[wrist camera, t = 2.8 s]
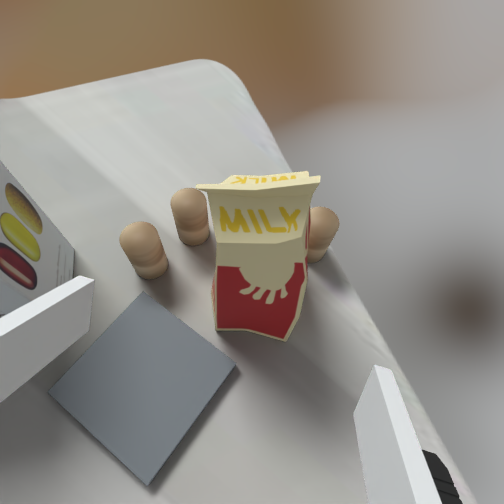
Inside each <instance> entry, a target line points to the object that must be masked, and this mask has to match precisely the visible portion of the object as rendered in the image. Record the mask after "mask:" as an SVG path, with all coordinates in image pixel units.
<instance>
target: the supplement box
mask: <svg viewBox="0 0 504 504" xmlns="http://www.w3.org/2000/svg"><path fill="white" fill-rule="evenodd" d="M73 262H74V248H73V247H72V245H71V244H70V243H69V242H68V241H67V239H66V238H65V237H64V236H63V235H62V233H61V232H60V231H59V230H58V229H57V227H56V226H55V225H54V224H53V223H52V221H51V220H50V219H49V218H48V217H47V216H46V214H45V213H44V212H43V211H42V210H41V208H40V207H39V206H38V205H37V204H36V202H35V201H34V200H33V199H32V198H31V196H30V195H29V194H28V193H27V192H26V191H25V189H24V188H23V187H22V186H21V185H20V183H19V182H18V181H17V180H16V179H15V177H14V176H13V175H12V174H11V173H10V172H9V170H8V169H7V168H6V167H5V166H4V164H3V163H2V162H1V161H0V316H1V317H3V316H5V315H7V314H9V313H11V312H13V311H14V310H16V309H18V308H20V307H22V306H24V305H25V304H27V303H29V302H31V301H33V300H35V299H37V298H38V297H40V296H42V295H44V294H46V293H48V292H49V291H51V290H53V289H55V288H57V287H59V286H61V285H62V284H64V283H66V282H68V281H70V280H72V278H73Z"/></svg>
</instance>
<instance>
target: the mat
mask: <svg viewBox="0 0 504 504" xmlns="http://www.w3.org/2000/svg"><path fill="white" fill-rule="evenodd" d="M235 366H236V363H235V362H234V361H233V360H232V359H230V358H229V357H228V356H226V355H225V354H224V353H222V352H221V351H220V350H219V349H217V348H216V347H215V346H213V345H212V344H211V343H210V342H208V341H207V340H206V339H204V338H203V337H202V336H201V335H199V334H198V333H197V332H195V331H194V330H193V329H191V328H190V327H189V326H188V325H186V324H185V323H184V322H182V321H181V320H180V319H179V318H177V317H176V316H175V315H173V314H172V313H171V312H169V311H168V310H167V309H166V308H164V307H163V306H162V305H160V304H159V303H158V302H157V301H155V300H154V299H153V298H151V297H150V296H149V295H147V294H146V293H145V292H144V291H143V292H142V293H141V294H140V295H139V296H138V297H137V298H136V299H135V300H134V301H133V302H132V303H131V304H130V305H129V307H128V308H127V309H126V310H125V311H124V312H123V313H122V314H121V315H120V316H119V317H118V318H117V319H116V320H115V321H114V322H113V323H112V324H111V325H110V327H109V328H108V329H107V330H106V331H105V332H104V333H103V334H102V335H101V336H100V337H99V338H98V339H97V340H96V341H95V342H94V343H93V344H92V345H91V347H90V348H89V349H88V350H87V351H86V352H85V353H84V354H83V355H82V356H81V357H80V358H79V359H78V360H77V361H76V362H75V363H74V364H73V366H72V367H71V368H70V369H69V370H68V371H67V372H66V373H65V374H64V375H63V376H62V377H61V378H60V379H59V380H58V381H57V382H56V383H55V384H54V386H53V387H52V388H51V389H50V390H49V391H48V393H49V394H50V395H51V396H52V397H53V398H54V399H55V400H56V401H57V402H58V403H59V404H60V405H61V406H63V407H64V408H65V409H66V410H67V411H68V412H69V413H70V414H71V415H72V416H73V417H74V418H75V419H76V420H77V421H78V422H80V423H81V424H82V425H83V426H84V427H85V428H86V429H87V430H88V431H89V432H90V433H91V434H92V435H93V436H94V437H95V438H97V439H98V440H99V441H100V442H101V443H102V444H103V445H104V446H105V447H106V448H107V449H108V450H109V451H110V452H111V453H112V454H114V455H115V456H116V457H117V458H118V459H119V460H120V461H121V462H122V463H123V464H124V465H125V466H126V467H127V468H128V469H129V470H131V471H132V472H133V473H134V474H135V475H136V476H137V477H138V478H139V479H140V480H141V481H142V482H143V483H144V484H145V485H146V486H148V485H149V484H150V483H151V482H152V480H153V479H154V478H155V476H156V475H157V473H158V472H159V471H160V469H161V468H162V467H163V465H164V464H165V462H166V461H167V460H168V458H169V457H170V455H171V454H172V453H173V451H174V450H175V449H176V447H177V446H178V444H179V443H180V442H181V440H182V439H183V438H184V436H185V435H186V433H187V432H188V431H189V429H190V428H191V426H192V425H193V424H194V422H195V421H196V420H197V418H198V417H199V415H200V414H201V413H202V411H203V410H204V409H205V407H206V406H207V404H208V403H209V402H210V400H211V399H212V398H213V396H214V395H215V393H216V392H217V391H218V389H219V388H220V386H221V385H222V384H223V382H224V381H225V380H226V378H227V377H228V375H229V374H230V373H231V371H232V370H233V369H234V367H235Z"/></svg>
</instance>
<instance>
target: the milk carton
mask: <svg viewBox="0 0 504 504" xmlns="http://www.w3.org/2000/svg"><path fill="white" fill-rule="evenodd" d="M319 183H320V176H313V177H309V173H308V171H304V172H293V173H284V174H274V175H264V176H247V175H231V176H230V177H229V178H227V179H226V180H225V181H223V182H222V183H220V184H196V189H199V190H202V191H205V192H207V194H208V199H209V205H210V210H211V215H212V220H213V226H214V231H215V236H216V241H217V248H216V268H215V274H214V280H213V285H212V290H211V297H212V305H213V313H214V321H215V329H216V331H249V332H252V333H256V334H259V335H263V336H266V337H270V338H273V339H277V340H280V341H284V342H287V340H288V338H289V336H290V334H291V332H292V330H293V328H294V327H295V325H296V323H297V321H298V319H299V317H300V313H301V308H302V303H303V299H304V294H305V290H306V285H307V280H308V273H307V251H308V242H309V233H310V224H311V211H310V202H311V198H312V195H313V193H314V191H315V190H316V188H317V187H318V185H319Z"/></svg>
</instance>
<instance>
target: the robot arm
mask: <svg viewBox="0 0 504 504" xmlns="http://www.w3.org/2000/svg"><path fill="white" fill-rule="evenodd" d="M94 281H95V280H93V279H90V278H87V277H83V276H80V275H79V276H77V277H75V278H74V279H72V280H70V281H68V282H66V283H64V284H62V285H61V286H59V287H57V288H55V289H53V290H51V291H49V292H48V293H46V294H44V295H42V296H40V297H38V298H37V299H35V300H33V301H31V302H29V303H27V304H25V305H24V306H22V307H20V308H18V309H16V310H14V311H13V312H11V313H9V314H7V315H5V316H3V317H1V316H0V403H1V402H2V401H3V400H5V399H6V398H7V397H8V396H10V395H11V394H12V393H13V392H14V391H16V390H17V389H18V388H19V387H21V386H22V385H23V384H24V383H25V382H27V381H28V380H29V379H30V378H32V377H33V376H34V375H35V374H37V373H38V372H39V371H40V370H41V369H43V368H44V367H45V366H46V365H48V364H49V363H50V362H51V361H52V360H54V359H55V358H56V357H57V356H59V355H60V354H61V353H62V352H63V351H65V350H66V349H67V348H68V347H70V346H71V345H72V344H73V343H75V342H76V341H77V340H78V339H79V338H81V337H82V336H83V335H84V334H86V333H87V332H88V331H89V327H90V318H91V308H92V299H93V290H94ZM353 415H354V421H355V427H356V433H357V439H358V445H359V451H360V457H361V463H362V469H363V475H364V481H365V487H366V493H367V499H368V504H462V501H461V500H460V499H459V494H458V492H457V490H456V487H454V483H453V481H452V478H451V476H450V474H449V471H448V469H447V468H446V466H445V465H444V464H443V463H442V461H441V460H440V459H439V457H438V456H437V455H436V454H434V453H431V452H428V451H425V450H422V449H421V447H420V444H419V441H418V439H417V436H416V433H415V431H414V428H413V425H412V423H411V420H410V417H409V415H408V412H407V409H406V407H405V404H404V402H403V399H402V396H401V394H400V391H399V388H398V386H397V383H396V380H395V378H394V375H393V372H392V370H391V369H387V368H384V367H381V366H377V365H374V366H373V368H372V371H371V373H370V375H369V378H368V380H367V382H366V385H365V387H364V390H363V392H362V394H361V397H360V399H359V402H358V404H357V406H356V409H355V411H354V413H353Z"/></svg>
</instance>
